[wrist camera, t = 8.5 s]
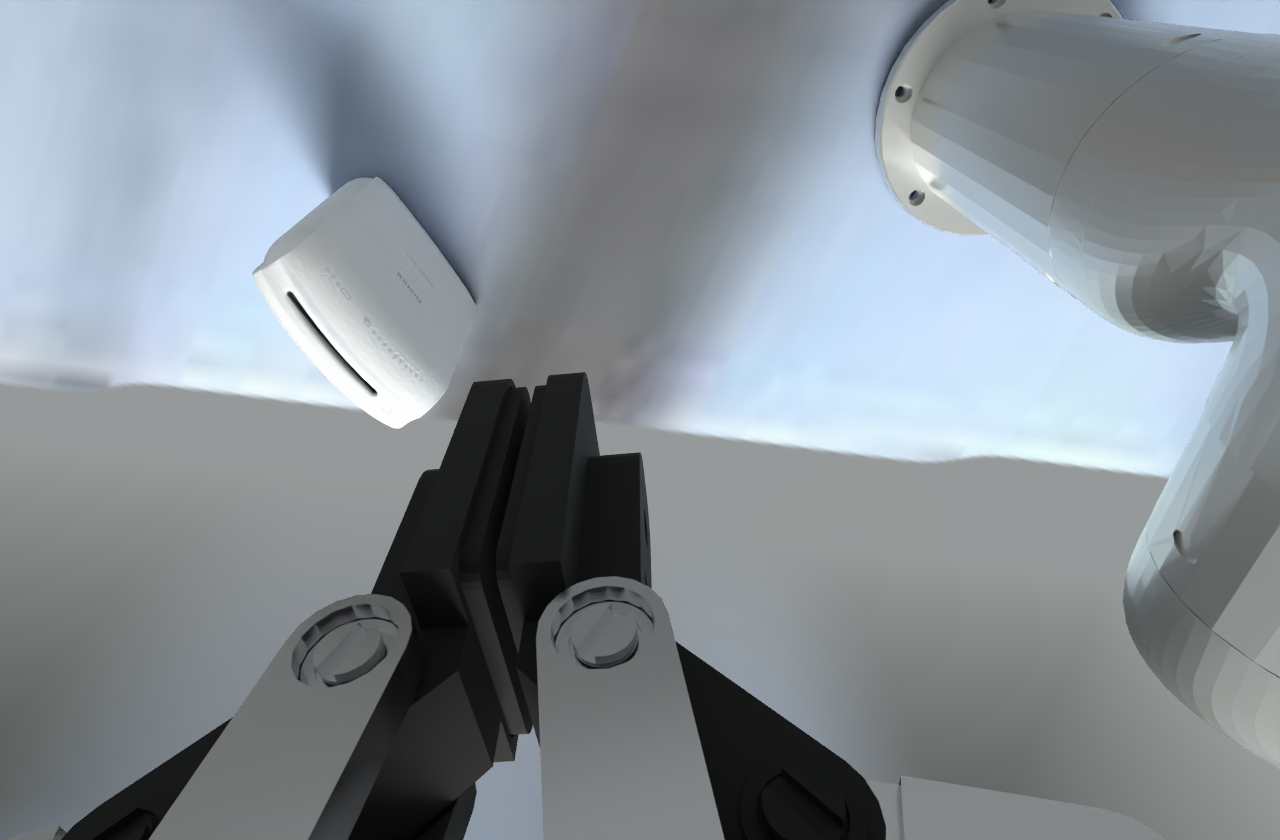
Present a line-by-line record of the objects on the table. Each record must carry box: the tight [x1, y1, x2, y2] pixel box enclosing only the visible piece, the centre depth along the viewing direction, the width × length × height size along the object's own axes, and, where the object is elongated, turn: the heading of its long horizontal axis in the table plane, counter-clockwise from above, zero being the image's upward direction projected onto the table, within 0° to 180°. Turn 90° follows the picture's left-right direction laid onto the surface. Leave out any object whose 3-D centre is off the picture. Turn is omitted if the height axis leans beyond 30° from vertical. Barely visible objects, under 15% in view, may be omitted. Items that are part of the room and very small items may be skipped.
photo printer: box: [252, 177, 478, 428], centre depth 36 cm, size 10×4×12 cm, turn 29°
